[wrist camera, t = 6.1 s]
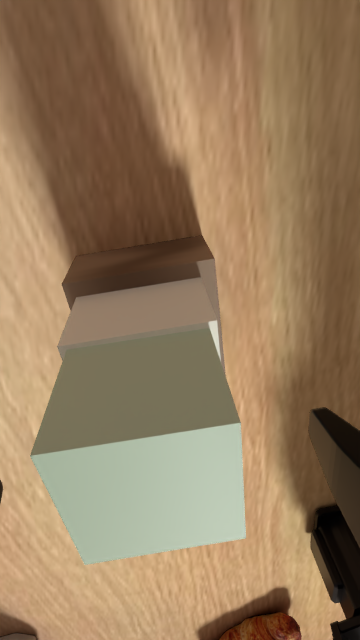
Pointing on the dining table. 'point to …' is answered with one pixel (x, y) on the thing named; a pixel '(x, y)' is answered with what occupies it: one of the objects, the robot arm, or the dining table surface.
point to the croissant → (265, 628)
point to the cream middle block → (139, 314)
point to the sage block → (143, 447)
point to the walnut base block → (145, 270)
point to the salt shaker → (18, 637)
